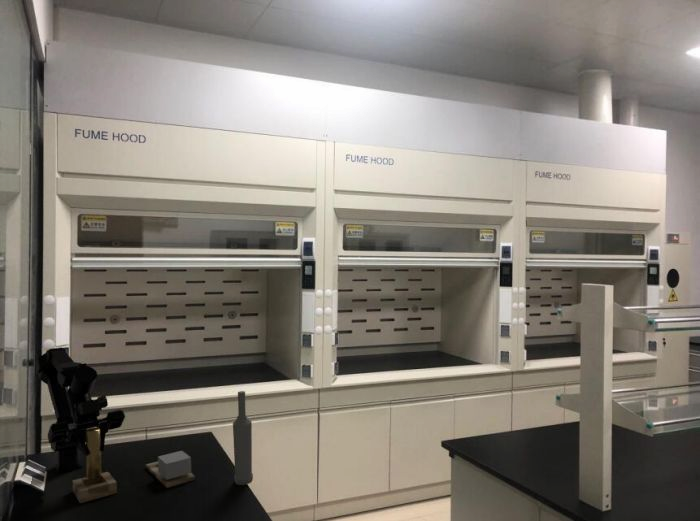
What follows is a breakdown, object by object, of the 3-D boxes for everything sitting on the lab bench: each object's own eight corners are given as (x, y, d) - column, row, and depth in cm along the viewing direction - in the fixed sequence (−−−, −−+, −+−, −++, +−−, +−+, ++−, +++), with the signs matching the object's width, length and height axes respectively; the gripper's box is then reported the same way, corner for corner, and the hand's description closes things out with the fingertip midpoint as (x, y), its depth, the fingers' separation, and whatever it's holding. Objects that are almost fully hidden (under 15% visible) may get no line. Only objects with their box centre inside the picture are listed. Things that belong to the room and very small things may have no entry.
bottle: (256, 478, 152) (254, 390, 152) (247, 486, 147) (244, 395, 147) (240, 476, 154) (238, 389, 153) (230, 484, 149) (228, 393, 148)
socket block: (72, 491, 146) (72, 480, 146) (108, 482, 152) (107, 471, 152) (80, 503, 139) (79, 491, 139) (116, 493, 145) (116, 482, 144)
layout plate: (146, 467, 161) (146, 463, 161) (172, 460, 166) (172, 456, 166) (166, 487, 147) (166, 483, 147) (195, 479, 152) (195, 475, 152)
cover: (158, 471, 154) (157, 456, 154) (182, 465, 158) (181, 450, 158) (166, 479, 149) (166, 463, 149) (191, 472, 153) (190, 457, 153)
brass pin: (86, 474, 146) (85, 428, 146) (101, 472, 148) (100, 426, 147) (86, 479, 143) (85, 432, 143) (101, 477, 144) (100, 430, 144)
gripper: (49, 394, 141) (62, 446, 134) (121, 381, 154) (137, 428, 146) (42, 417, 147) (54, 469, 140) (112, 403, 160) (127, 449, 152)
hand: (95, 453), depth 144 cm, fingers closed on brass pin, 4 cm apart
